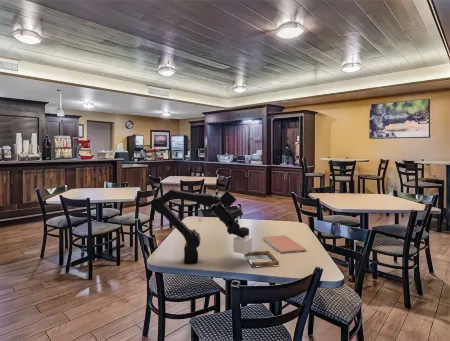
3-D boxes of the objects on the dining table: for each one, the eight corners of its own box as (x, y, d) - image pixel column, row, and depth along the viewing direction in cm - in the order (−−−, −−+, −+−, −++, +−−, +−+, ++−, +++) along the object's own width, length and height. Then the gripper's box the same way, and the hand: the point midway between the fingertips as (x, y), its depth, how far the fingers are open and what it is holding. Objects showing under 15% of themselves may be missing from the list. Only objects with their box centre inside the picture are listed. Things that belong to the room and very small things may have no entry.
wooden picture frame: (252, 267, 142) (252, 263, 142) (244, 255, 157) (244, 251, 157) (278, 266, 144) (278, 262, 144) (268, 254, 160) (268, 250, 160)
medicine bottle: (252, 250, 150) (252, 227, 149) (245, 254, 144) (246, 230, 143) (239, 247, 153) (240, 225, 152) (233, 251, 147) (233, 228, 146)
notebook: (260, 239, 187) (260, 236, 187) (285, 237, 191) (285, 234, 191) (279, 254, 161) (279, 251, 161) (306, 252, 165) (306, 249, 165)
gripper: (234, 206, 137) (257, 229, 138) (233, 199, 156) (253, 219, 157) (217, 222, 138) (240, 245, 139) (217, 213, 156) (238, 234, 157)
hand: (243, 235), depth 148 cm, fingers closed on medicine bottle, 6 cm apart
